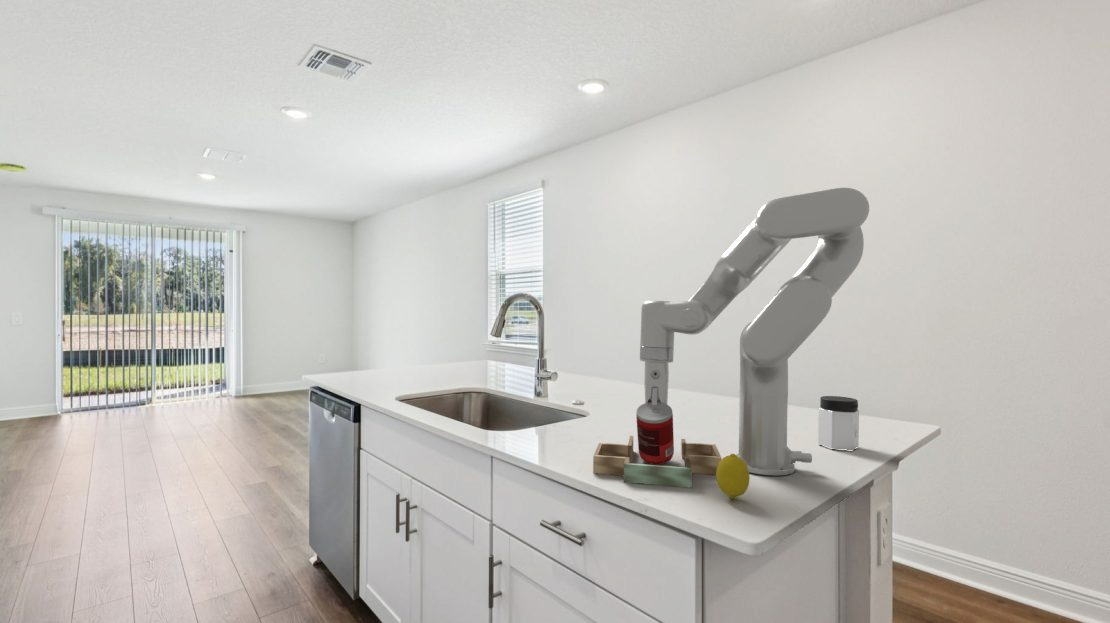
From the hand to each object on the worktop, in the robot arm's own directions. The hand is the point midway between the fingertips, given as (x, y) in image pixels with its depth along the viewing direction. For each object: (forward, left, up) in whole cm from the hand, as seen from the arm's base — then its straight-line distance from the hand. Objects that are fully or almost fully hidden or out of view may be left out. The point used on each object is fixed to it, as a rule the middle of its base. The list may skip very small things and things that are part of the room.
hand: (653, 434), depth 116 cm
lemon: (-14, +24, -5) cm, 28 cm away
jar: (-45, -19, -5) cm, 49 cm away
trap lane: (-1, +8, -5) cm, 10 cm away
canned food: (-1, +4, -4) cm, 5 cm away
